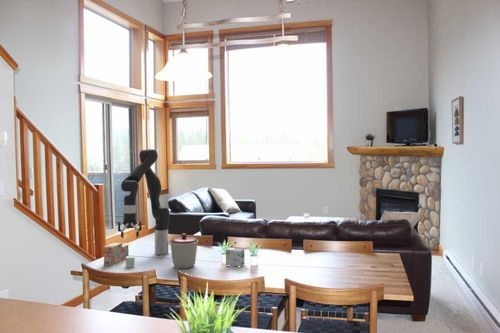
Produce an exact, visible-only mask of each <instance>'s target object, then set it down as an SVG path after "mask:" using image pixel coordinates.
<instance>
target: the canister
mask: <svg viewBox="0 0 500 333" xmlns="http://www.w3.org/2000/svg"><path fill="white" fill-rule="evenodd" d="M198 242H199V240H198V238H196V237H193V236H188V235H187V233H184V232H183V233H181V235H180V236H177V237H174V238H171V240H168V243H169V244H170V251H171V259H172V265H173V266H174V268H176V269H182V270H183V269H191V268H193V267H194V266H195V264H196V261H197V260H196V258H197V250H198Z"/></svg>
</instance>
